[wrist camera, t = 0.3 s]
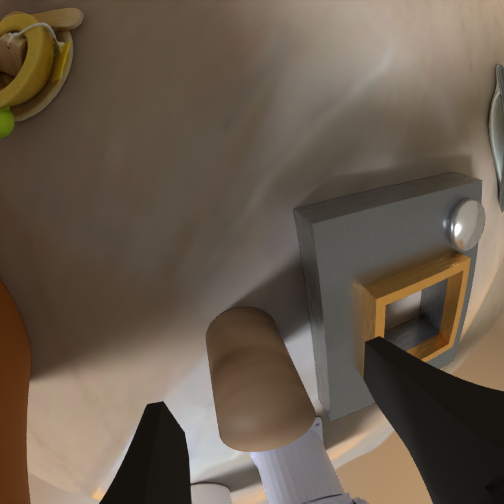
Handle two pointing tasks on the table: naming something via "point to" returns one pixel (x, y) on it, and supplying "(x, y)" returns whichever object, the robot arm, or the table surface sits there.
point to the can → (210, 494)
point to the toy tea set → (33, 61)
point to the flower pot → (13, 402)
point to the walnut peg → (255, 383)
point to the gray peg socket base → (387, 276)
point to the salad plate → (498, 131)
